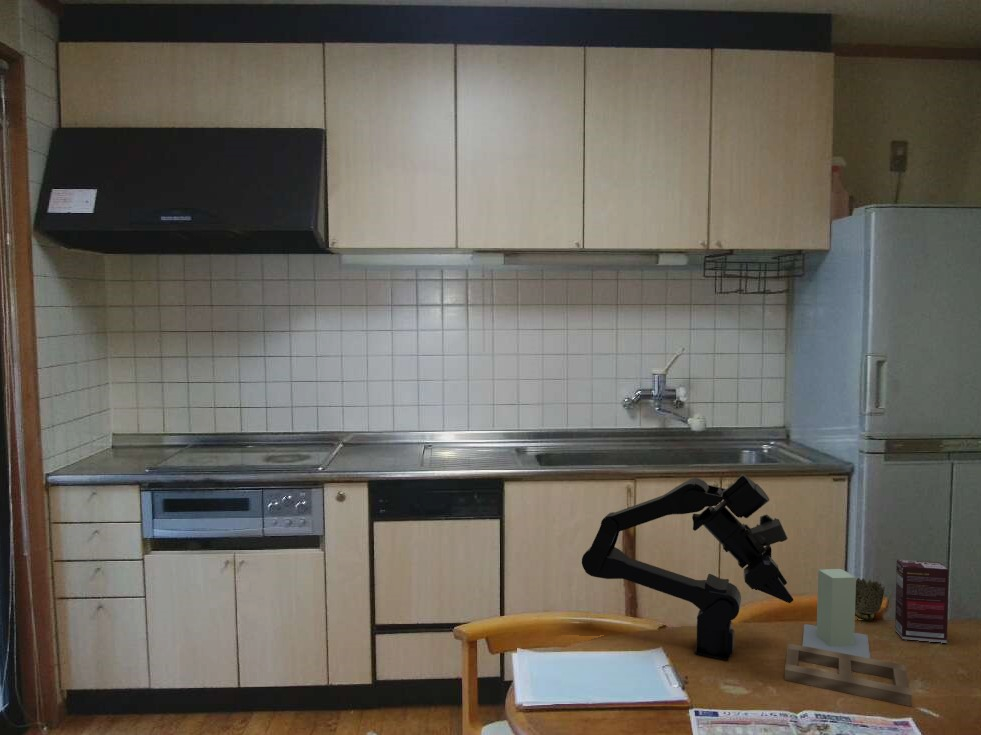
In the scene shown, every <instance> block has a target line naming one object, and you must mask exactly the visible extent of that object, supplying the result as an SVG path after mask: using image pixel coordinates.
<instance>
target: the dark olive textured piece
mask: <svg viewBox="0 0 981 735" xmlns="http://www.w3.org/2000/svg"><path fill="white" fill-rule="evenodd" d="M885 589H886V586H885V585H884V586H883V587H882V583H881V582H880V583H879V581H878V580H875V581H872V580H871V579H868V581H867V580H866V579H865V578H862V579H860V578H859V577H857V578H856V598H855V617H856V618H858V619H859V620H862V621H868V622H869V621H872V620H873V619H874V618H875V615H874V614H877V613H878V612H879V611H880V610H881V607H882V604H883V601H884V595H885V593H884V592H885Z"/></svg>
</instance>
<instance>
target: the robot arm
mask: <svg viewBox="0 0 981 735" xmlns="http://www.w3.org/2000/svg"><path fill="white" fill-rule="evenodd" d="M735 480H736V481H734V482H733V483H732V484H731V485H729V486H728V487H727V488H723V487H721V486H720V487H718V486H715V485H710V484H708V483H707V482H706V481H704V480H703V479H701V478H698V477H693V478H690V479H688V480H686V481H684V482H682V483H681V484H679V485H677V486H676V487H674V488H672V489H671V490H669V491H668V492H666V493H664V494H663V495H660V496H657V497H654V498H651V499H649V500H646V501H643V502H640V503H637V504H634V505H632V506H630V507H627V508H624V509H620V510H617V511H615V512H614V511H613V512H609V513H608V514H606V515H605V516H604V517H603V519H602V520H601V521H600V522H601V523H600V525H599V528H598V530H597V533H596V535H595V537H594V540H593V542H592V544H591V546H590V547H589V548H588V549H587V550H586V551H585V553H584V554H583V556H581V564H582V568H583V569H584V571H585V573H586V574H587V575H588V576H590V577H592V578H593V577H594V578H597V579H605V580H625V581H629V582H632V583H634V584H637V585H639V586H643V587H646V588H649V589H651V590H655V591H657V592H660V593H663V594H665V595H668V596H673V597H675V598H678V599H681V600H684V601H687V602H689V603H691V604H692V605H694V606H695V607H697V609H699V610H698V613H697V616H696V620H697V621H696V647H695V649H694V654H695V655H699V656H703V657H708V658H712V659H718V660H723V661H729V660H730V657H731V655H733V653H734V650H735V629H733V628H732V621H733V620H735V619H736V618H737V617H738V615H739V612H740V608H741V604H742V595H741V592H740V590H739V589H738V587H737V586H736V585H735V584H733V583H732V582H730V579H729V578H720V577H718V576H716V575H714V574H711V573H708V575H707V577H706V578H705V579H695V578H692V577H688V576H686V575H682V574H680V573H676V572H674V571H671V570H667V569H664V568H661V567H658V566H655V565H653V564H649V563H646V562H644V561H640V560H637V559H634V558H631V557H629V556H628V555H627V554H625V553H624V551H622V550H621V549H620V548H618V547H615V546H616V544H617V542H618V538H619V536H620V533H621V532H623V531H625V530H628V529H631V528H633V527H637V526H640V525H642V524H646V523H648V522H652V521H655V520H657V519H661V518H664V517H667V516H672V515H686V514H692V516H691V518H692V522H693V524H692V531H697V530H698V529H700V528H701V527H702V526H703V527H704V528H705V529H706V530H707V531H708V532H709V533H710V534H711V536H713V537H714V538H715V540H717V541H718V543H720V544H721V545H722V549H723V550H724V552H726V553H729V554H730V555H731V556H732V557H733V558H734V559H735V560H736V561H737V565H738V566H739V567H740V568H741V569H743V580H744V583H745V584H746V585H747V586H748V587H749V588H750V589H751V590H755V591H759V592H762V593H764V594H766V595H770V596H772V597H774V598H776V599H778V600H781V601H783V602H785V603H788V604H791V603H792V602H793V601H794V597H792V595H791V594H790V592H789V591H788V589H787V587H786V585H787V584H788V582H787V580H786V578H785V577H784V574H782V572H781V570H780V569H779V566H778V564H777V562H776V561H775V560H774V559H773V558H772V547H771V545H773V544H777V543H779V542H780V543H781V542H785V541H786V540H788V536H787V534H786V531H785V529H784V527H783V525H782V522H781V521H780V519H779V518H776V517H775V518H772V517H771V516H770V515H768V514H764V515H761V516H760V517H759V524H758V523H757V524H756V526H753V527H750V526H749V525H748V524H745V523H742V522H740V520H738V518H739V519H742V518H745V519H748V518H750V517H751V516H752V515H753V514H754V513H756V512H757V511H758V510H759V509H761V508H762V507H763V506H765V505H766V504H767V503H768V502H770V498H769V496H768V494H767V493H766V492H765V491H764V489H763V488H762V487H761V486H760V485H759V484H758V483H756V482H755V481H754V480H752V479H751V478H750V477H748V476H747V475H746V474H745V473H741V475H739V476H738V478H737V479H735ZM702 510H703V511H702ZM701 511H702V512H701ZM698 512H701V513H698Z"/></svg>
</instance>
